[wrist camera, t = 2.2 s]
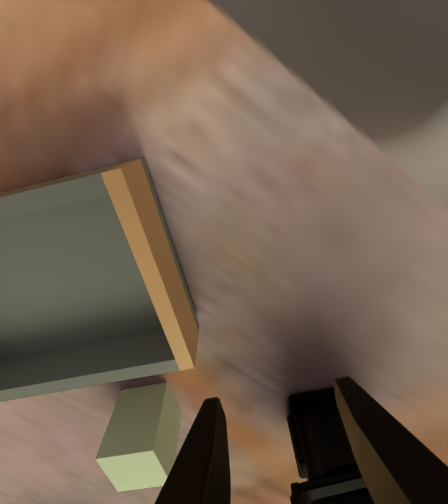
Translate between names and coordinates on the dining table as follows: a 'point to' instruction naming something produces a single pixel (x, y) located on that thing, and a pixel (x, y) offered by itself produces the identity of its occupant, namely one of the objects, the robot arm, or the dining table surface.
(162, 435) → the sage block
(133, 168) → the low planter box
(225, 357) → the dining table surface
